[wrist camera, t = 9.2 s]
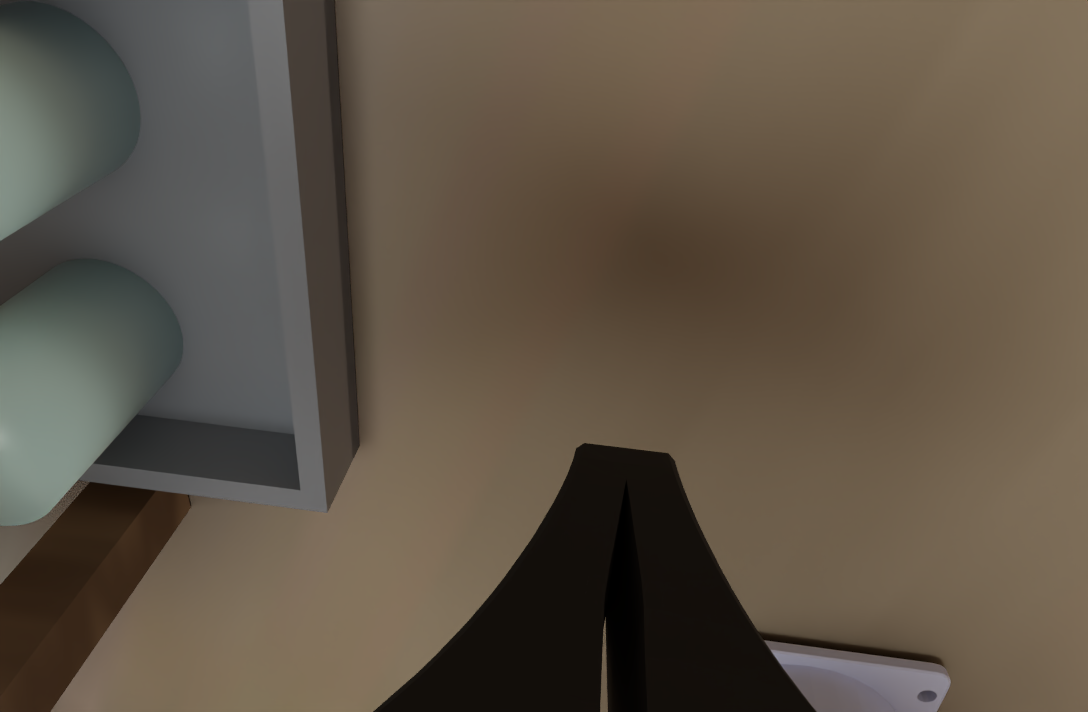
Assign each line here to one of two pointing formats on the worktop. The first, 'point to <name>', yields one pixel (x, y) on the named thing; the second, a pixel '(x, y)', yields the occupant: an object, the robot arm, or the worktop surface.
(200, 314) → the tray
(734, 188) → the worktop surface
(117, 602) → the small wooden stool
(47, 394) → the pale green rounded cylinder
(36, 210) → the mint green capsule
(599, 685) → the robot arm
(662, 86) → the worktop surface
